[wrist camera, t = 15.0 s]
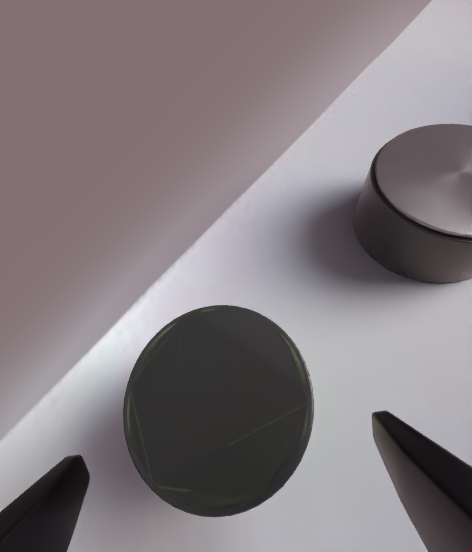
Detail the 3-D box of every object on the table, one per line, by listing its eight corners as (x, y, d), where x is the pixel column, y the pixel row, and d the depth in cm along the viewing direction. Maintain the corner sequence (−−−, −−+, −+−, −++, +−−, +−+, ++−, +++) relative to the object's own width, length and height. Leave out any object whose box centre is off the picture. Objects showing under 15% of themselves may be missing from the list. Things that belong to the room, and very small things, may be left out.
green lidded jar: (310, 371, 15) (332, 333, 9) (279, 502, 13) (282, 567, 7) (210, 336, 17) (173, 286, 11) (165, 446, 15) (85, 459, 9)
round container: (497, 189, 20) (552, 129, 16) (504, 300, 16) (578, 258, 12) (363, 170, 22) (382, 115, 18) (342, 263, 18) (360, 219, 15)
